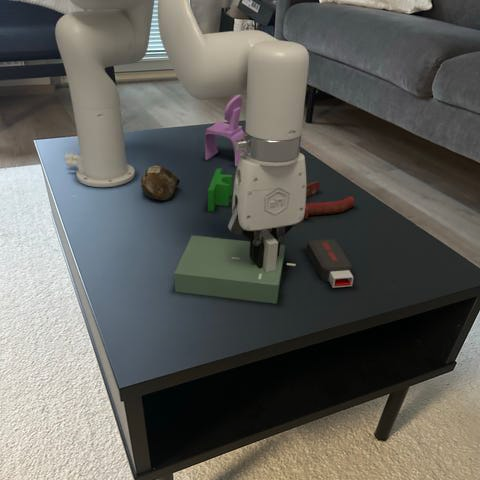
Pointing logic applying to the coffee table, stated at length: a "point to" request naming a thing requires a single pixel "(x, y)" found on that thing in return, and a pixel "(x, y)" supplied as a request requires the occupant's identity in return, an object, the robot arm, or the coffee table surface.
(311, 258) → the usb drive
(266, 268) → the square jaw plate
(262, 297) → the green rectangular block
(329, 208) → the pliers
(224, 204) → the pipe clamp
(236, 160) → the toy chair
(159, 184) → the brown rock
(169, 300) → the coffee table surface
